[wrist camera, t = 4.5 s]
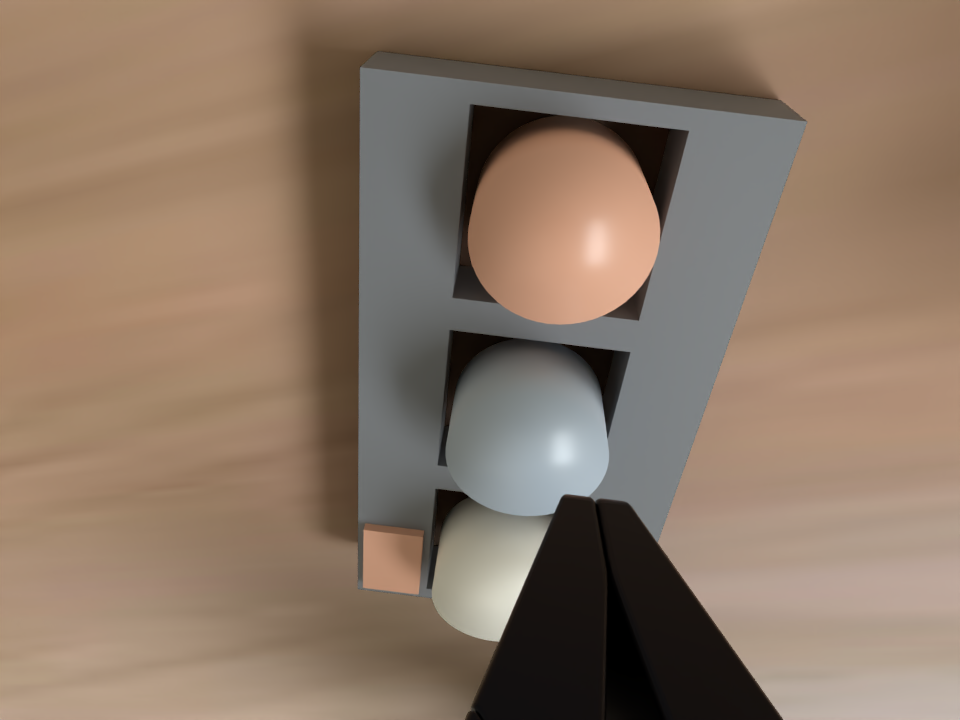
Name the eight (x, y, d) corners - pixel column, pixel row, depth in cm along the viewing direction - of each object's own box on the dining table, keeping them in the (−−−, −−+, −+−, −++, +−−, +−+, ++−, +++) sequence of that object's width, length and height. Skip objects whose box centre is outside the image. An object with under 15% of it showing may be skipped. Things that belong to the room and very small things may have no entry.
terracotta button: (624, 286, 19) (635, 334, 17) (468, 267, 19) (460, 313, 17) (664, 127, 17) (682, 159, 15) (484, 104, 17) (477, 134, 15)
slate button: (586, 463, 22) (592, 524, 20) (449, 446, 22) (440, 506, 20) (615, 348, 20) (625, 403, 17) (461, 329, 20) (451, 382, 17)
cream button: (556, 585, 25) (557, 649, 23) (437, 570, 25) (427, 633, 23) (577, 499, 23) (581, 561, 21) (445, 483, 23) (436, 543, 21)
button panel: (623, 578, 27) (630, 629, 25) (368, 546, 27) (356, 596, 25) (781, 100, 17) (812, 125, 15) (377, 51, 17) (356, 69, 15)
